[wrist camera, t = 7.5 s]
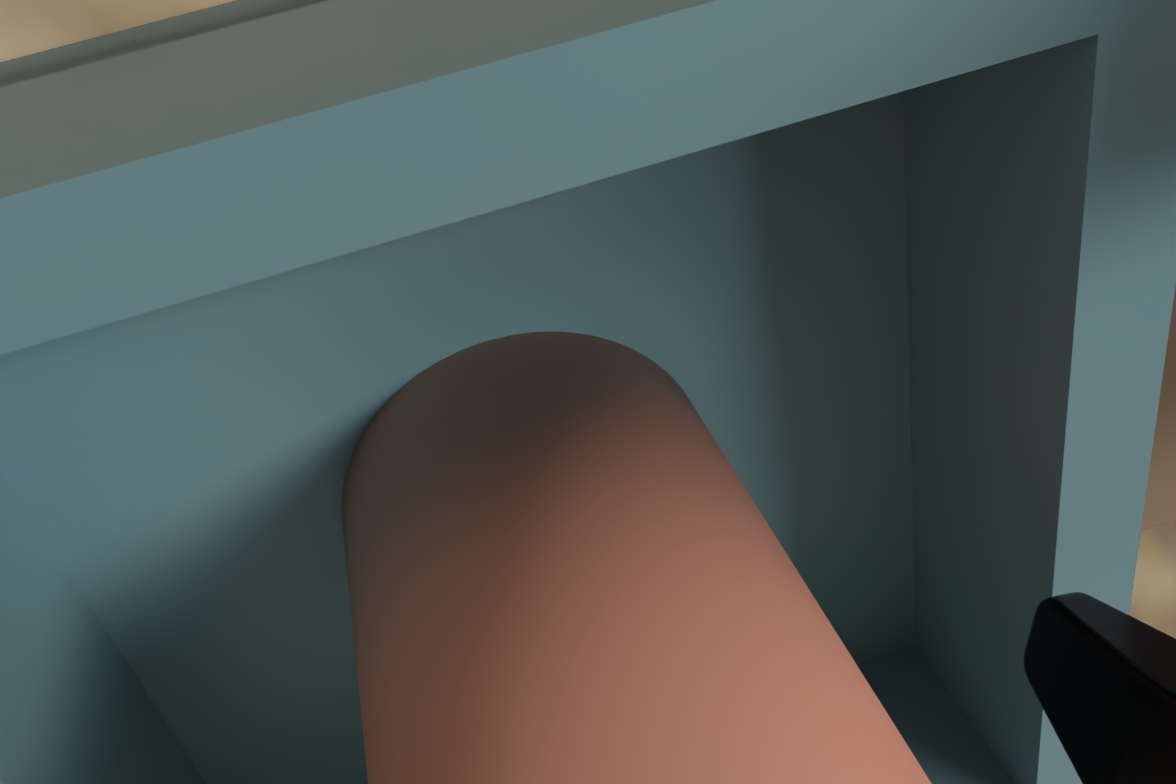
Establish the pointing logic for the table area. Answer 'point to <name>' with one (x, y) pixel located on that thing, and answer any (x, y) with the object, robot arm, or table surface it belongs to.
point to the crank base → (1164, 444)
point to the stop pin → (584, 590)
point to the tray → (570, 330)
